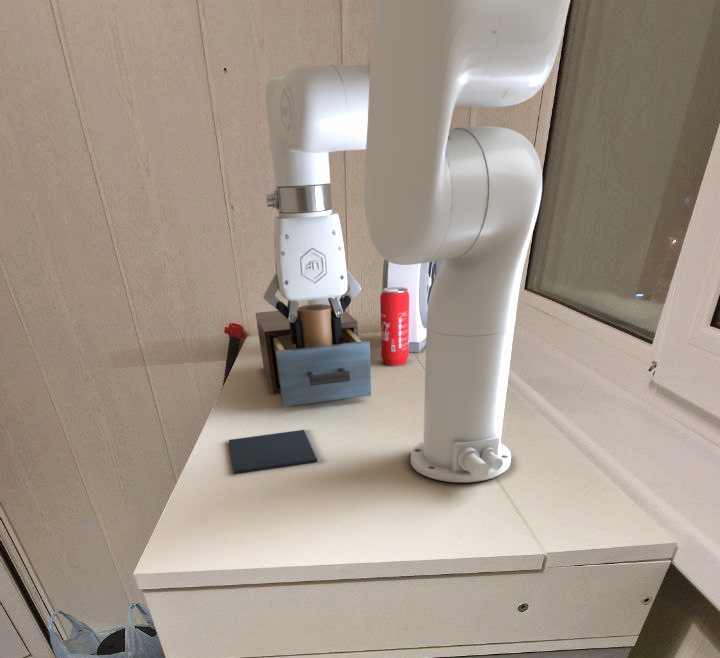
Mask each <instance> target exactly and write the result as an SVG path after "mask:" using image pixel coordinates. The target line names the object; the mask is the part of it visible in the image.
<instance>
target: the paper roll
mask: <svg viewBox="0 0 720 658" xmlns="http://www.w3.org/2000/svg"><path fill="white" fill-rule="evenodd" d="M297 313H298V321H299V322H300V326H301V336H302V346H303V348H309V347H318V346H326V345H333V332H332V318H331V307H330V306H329V305H324V304H313V305H308V304H305V305H302V306H298V311H297Z"/></svg>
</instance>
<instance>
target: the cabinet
mask: <svg viewBox="0 0 720 658" xmlns="http://www.w3.org/2000/svg"><path fill="white" fill-rule="evenodd" d="M329 306H330V305H329ZM330 307H331V306H330ZM331 311H332V309H331ZM297 317H298V313H297ZM255 319H256V326H257V333H258V341H259V345H260V353H261V359H262V366H263V371H264V374H265V377H266V378H267V382H268V384H269V387H270V389H271V392H272V394H281V389H280V385H279V383H278V380H277V377H276V370H275V363H274V356H273V349H272V341H271V336H280V335H289V334H291V333H290V325H289V320H288V319H287V318H286V317H285V316H284V315H283V314H281V313H280V312H279V311H278V310H272V311H260V312H255ZM344 328H349V329H350V330H351V331H352V332H353V333H354V334H355V335H356V336H357V337H358V338H359V322H358V320H357V319H356V318H354V317H353V316H352V315H351V314H350V313H349V312H348V311H347V310H345V311H344V312H343V315H342V317H341V329H344ZM359 339H360V338H359Z"/></svg>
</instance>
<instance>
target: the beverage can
mask: <svg viewBox="0 0 720 658" xmlns="http://www.w3.org/2000/svg"><path fill="white" fill-rule="evenodd" d="M379 300H380V302H379V303H380V307H379V308H380V347H381V359H382V361H383V364H384V365H386V366H391V367H392V366H393V367H394V366H395V367H396V366H402V365H405V364H407V361H408V358H409V356H410V355H409V353H410V352H409V293H408V289H407V288H403V287H392V288H385V289H381V293H380V296H379Z"/></svg>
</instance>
